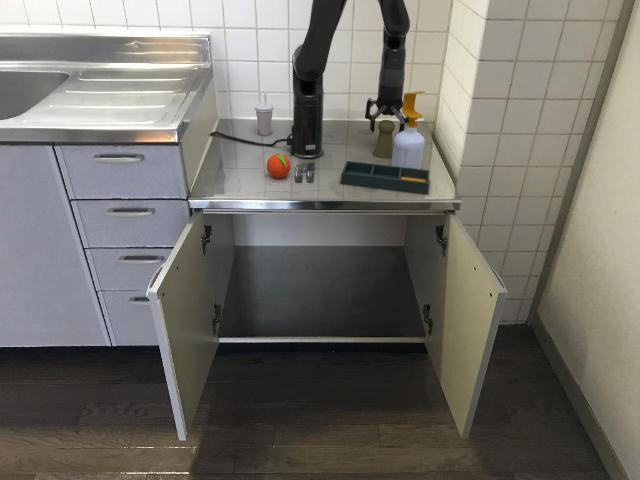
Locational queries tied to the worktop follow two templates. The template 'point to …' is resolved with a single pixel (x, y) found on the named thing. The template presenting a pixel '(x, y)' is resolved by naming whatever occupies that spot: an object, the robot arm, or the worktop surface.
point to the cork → (384, 139)
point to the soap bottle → (409, 137)
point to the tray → (385, 177)
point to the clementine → (278, 165)
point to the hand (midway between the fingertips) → (386, 133)
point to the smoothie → (264, 117)
